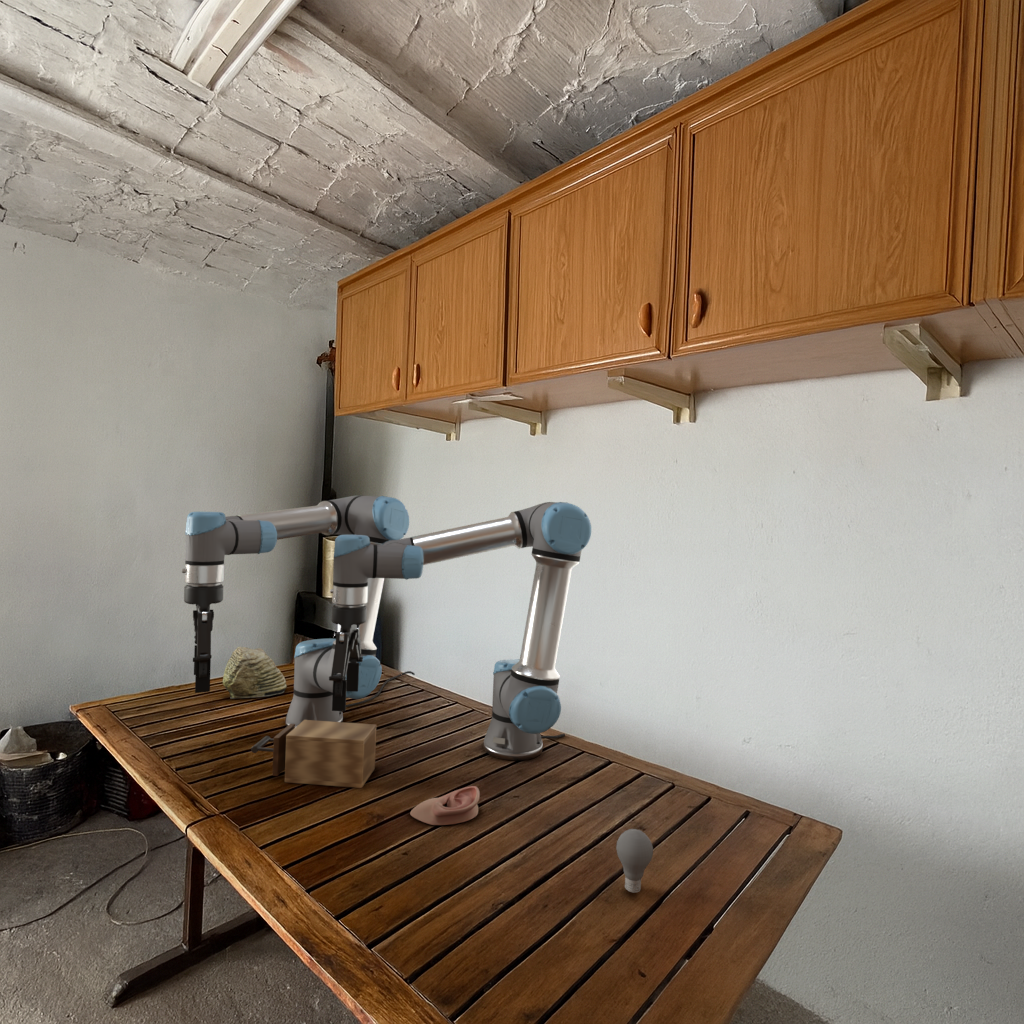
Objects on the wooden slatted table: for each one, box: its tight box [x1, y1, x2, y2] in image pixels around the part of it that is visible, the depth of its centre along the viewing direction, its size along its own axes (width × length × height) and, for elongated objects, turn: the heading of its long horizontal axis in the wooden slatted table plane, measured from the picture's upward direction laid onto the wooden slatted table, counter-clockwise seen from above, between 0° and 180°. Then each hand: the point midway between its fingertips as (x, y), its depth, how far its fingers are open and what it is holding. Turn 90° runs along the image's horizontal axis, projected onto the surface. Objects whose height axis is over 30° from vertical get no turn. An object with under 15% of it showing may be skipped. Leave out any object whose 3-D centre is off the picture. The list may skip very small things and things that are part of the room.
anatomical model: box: [409, 785, 481, 826], centre depth 129 cm, size 13×4×12 cm
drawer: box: [250, 724, 295, 777], centre depth 144 cm, size 22×9×9 cm, turn 86°
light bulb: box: [615, 828, 654, 894], centre depth 106 cm, size 6×6×10 cm
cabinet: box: [284, 720, 377, 789], centre depth 144 cm, size 17×10×10 cm, turn 86°
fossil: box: [222, 646, 288, 699], centre depth 198 cm, size 9×18×15 cm, turn 132°
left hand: (201, 682), depth 136 cm, fingers open, 13 cm apart
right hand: (345, 700), depth 140 cm, fingers open, 13 cm apart
